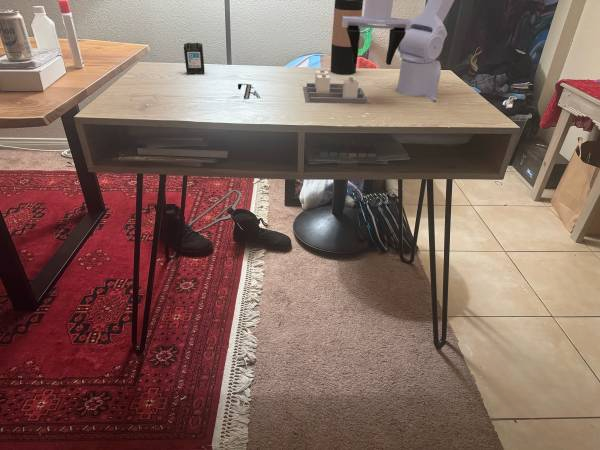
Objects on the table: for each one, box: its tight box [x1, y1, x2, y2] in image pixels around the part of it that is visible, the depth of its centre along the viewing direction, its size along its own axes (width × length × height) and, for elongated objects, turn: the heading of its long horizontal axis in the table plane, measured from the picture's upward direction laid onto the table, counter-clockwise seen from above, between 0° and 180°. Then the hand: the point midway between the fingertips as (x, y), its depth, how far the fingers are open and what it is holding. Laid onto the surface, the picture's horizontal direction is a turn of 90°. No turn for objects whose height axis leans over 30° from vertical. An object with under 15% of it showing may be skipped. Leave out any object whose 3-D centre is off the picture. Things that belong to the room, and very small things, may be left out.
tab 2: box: [342, 77, 359, 98], centre depth 100 cm, size 3×3×5 cm
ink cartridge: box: [183, 42, 206, 75], centre depth 119 cm, size 5×2×8 cm, turn 99°
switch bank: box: [302, 82, 371, 105], centre depth 104 cm, size 15×13×2 cm
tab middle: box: [316, 72, 331, 93], centre depth 103 cm, size 3×3×5 cm
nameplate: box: [237, 83, 261, 100], centre depth 111 cm, size 28×2×10 cm
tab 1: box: [314, 67, 330, 88], centre depth 106 cm, size 3×3×5 cm
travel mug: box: [330, 0, 364, 76], centre depth 119 cm, size 8×8×20 cm
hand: (371, 63), depth 97 cm, fingers open, 7 cm apart
